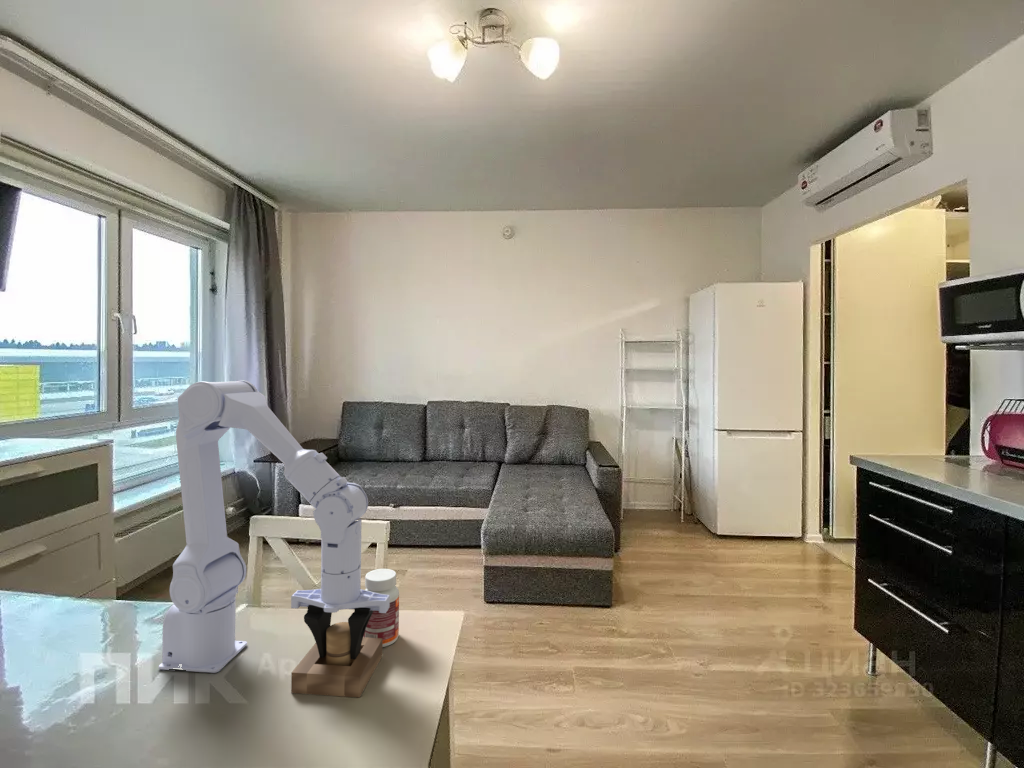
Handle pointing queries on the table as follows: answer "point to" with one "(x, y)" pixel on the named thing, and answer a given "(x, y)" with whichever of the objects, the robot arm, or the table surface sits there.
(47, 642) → the table surface
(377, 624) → the pill bottle
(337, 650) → the peg
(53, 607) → the table surface
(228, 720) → the table surface
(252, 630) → the table surface
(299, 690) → the board
